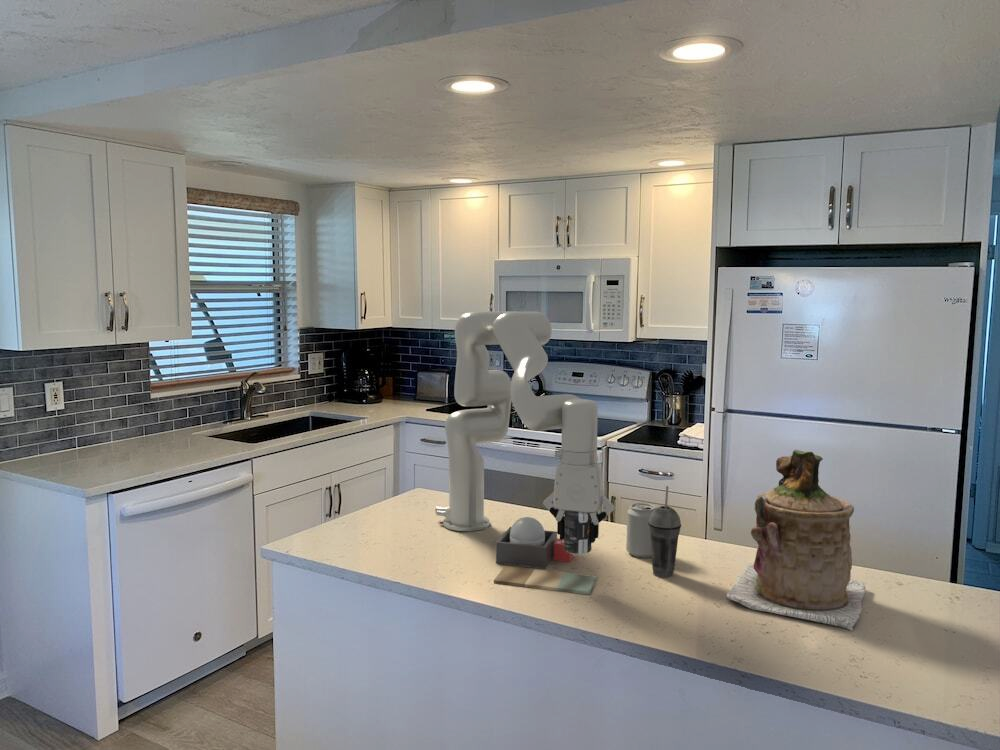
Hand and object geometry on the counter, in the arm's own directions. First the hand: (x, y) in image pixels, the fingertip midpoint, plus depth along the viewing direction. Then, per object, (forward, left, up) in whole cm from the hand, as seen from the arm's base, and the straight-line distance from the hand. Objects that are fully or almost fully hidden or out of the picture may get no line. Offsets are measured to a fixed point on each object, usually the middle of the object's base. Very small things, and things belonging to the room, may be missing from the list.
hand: (577, 538), depth 159 cm
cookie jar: (+45, +7, -11) cm, 47 cm away
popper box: (-12, +13, -10) cm, 21 cm away
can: (+11, +24, -11) cm, 29 cm away
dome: (-15, +13, -9) cm, 22 cm away
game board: (-7, 0, -10) cm, 12 cm away
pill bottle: (0, 0, -3) cm, 3 cm away
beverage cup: (+17, +12, -11) cm, 24 cm away
